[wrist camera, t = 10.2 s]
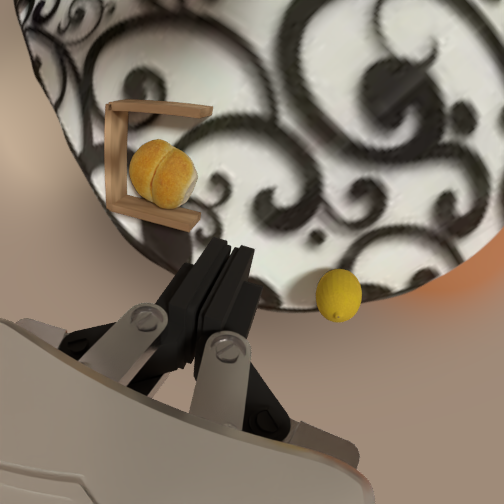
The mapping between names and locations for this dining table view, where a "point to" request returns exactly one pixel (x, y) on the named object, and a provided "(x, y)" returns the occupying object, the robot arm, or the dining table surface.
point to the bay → (118, 162)
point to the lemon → (338, 295)
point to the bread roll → (163, 174)
